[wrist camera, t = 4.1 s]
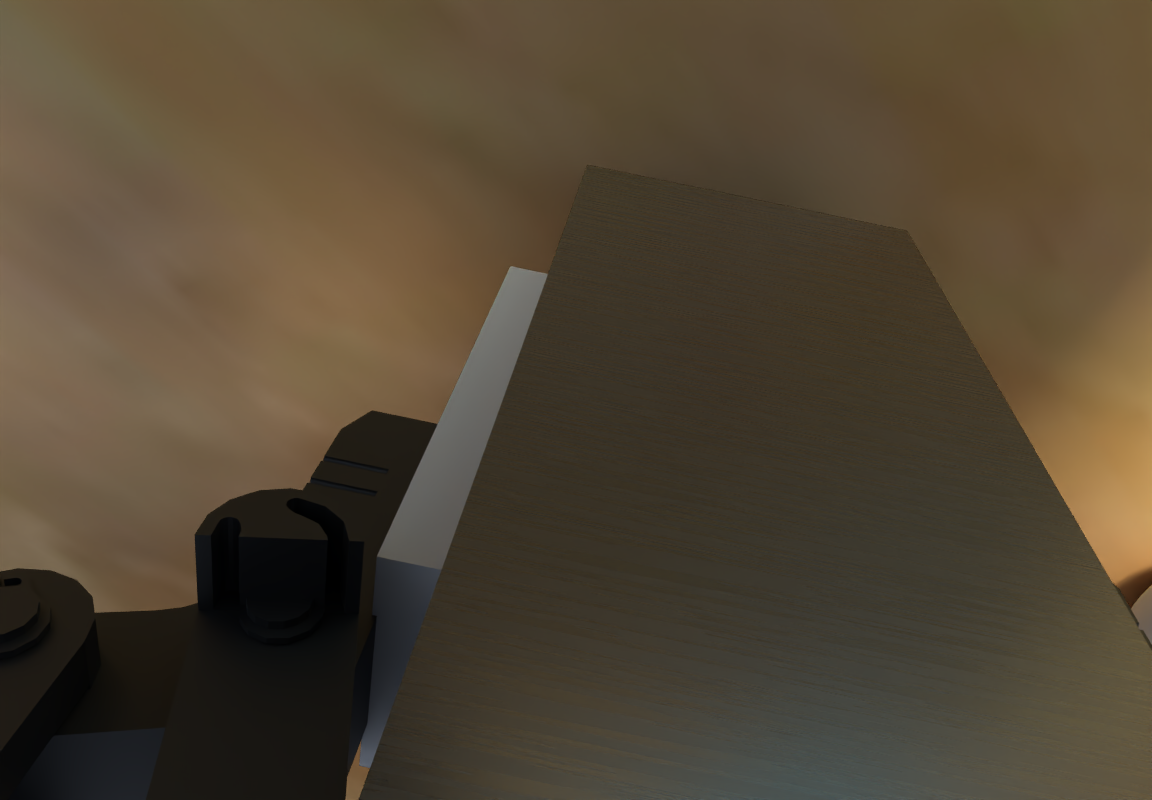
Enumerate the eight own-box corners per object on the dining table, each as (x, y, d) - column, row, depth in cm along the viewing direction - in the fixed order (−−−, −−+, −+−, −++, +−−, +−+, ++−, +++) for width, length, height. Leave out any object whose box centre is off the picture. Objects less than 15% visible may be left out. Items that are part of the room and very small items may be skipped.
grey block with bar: (364, 118, 14) (-499, 778, 4) (1131, 277, 14) (2305, 1379, 4) (340, 542, 19) (-103, 1388, 8) (928, 665, 18) (1225, 1678, 8)
